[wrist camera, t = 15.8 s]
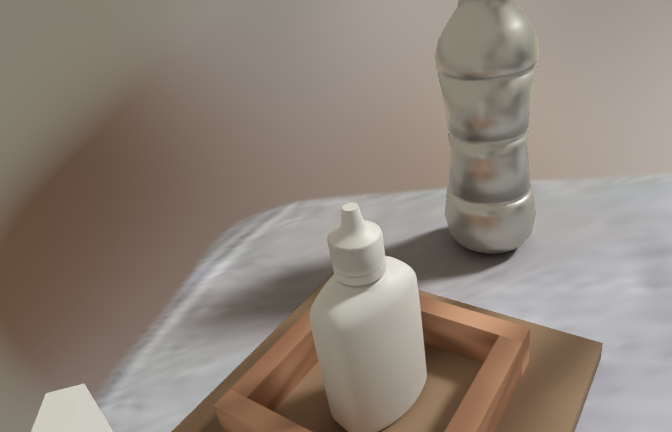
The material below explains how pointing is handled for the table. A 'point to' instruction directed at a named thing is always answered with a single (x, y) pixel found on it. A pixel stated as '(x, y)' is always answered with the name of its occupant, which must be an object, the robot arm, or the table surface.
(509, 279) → the table surface
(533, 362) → the collar board
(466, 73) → the plastic bottle
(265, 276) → the table surface
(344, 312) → the eye dropper bottle
